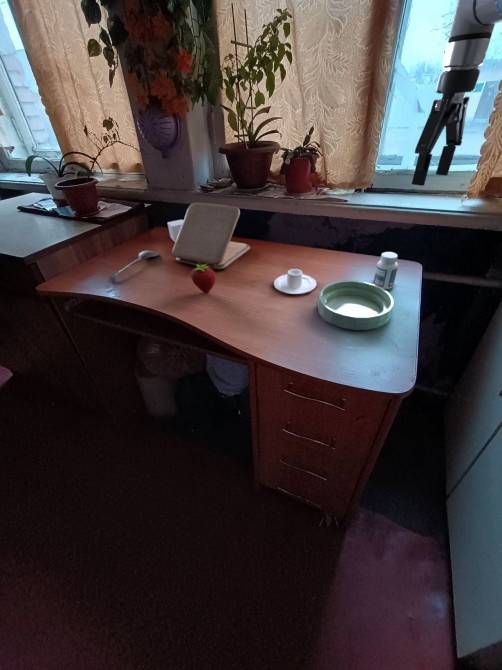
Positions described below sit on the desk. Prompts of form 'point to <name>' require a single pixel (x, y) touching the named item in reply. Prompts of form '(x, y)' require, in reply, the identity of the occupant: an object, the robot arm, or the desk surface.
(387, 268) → the pill bottle
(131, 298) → the desk surface
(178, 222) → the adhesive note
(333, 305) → the bowl
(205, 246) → the case
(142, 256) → the soupspoon
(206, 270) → the strawberry
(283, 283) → the candle holder
